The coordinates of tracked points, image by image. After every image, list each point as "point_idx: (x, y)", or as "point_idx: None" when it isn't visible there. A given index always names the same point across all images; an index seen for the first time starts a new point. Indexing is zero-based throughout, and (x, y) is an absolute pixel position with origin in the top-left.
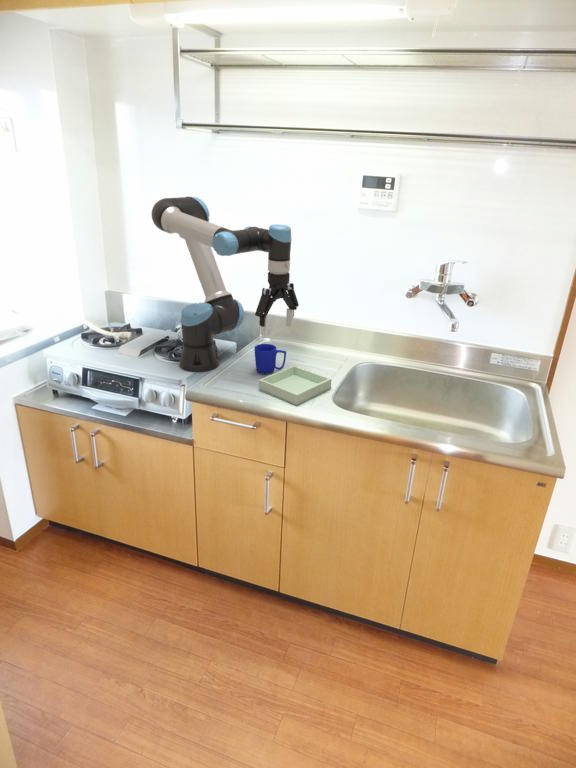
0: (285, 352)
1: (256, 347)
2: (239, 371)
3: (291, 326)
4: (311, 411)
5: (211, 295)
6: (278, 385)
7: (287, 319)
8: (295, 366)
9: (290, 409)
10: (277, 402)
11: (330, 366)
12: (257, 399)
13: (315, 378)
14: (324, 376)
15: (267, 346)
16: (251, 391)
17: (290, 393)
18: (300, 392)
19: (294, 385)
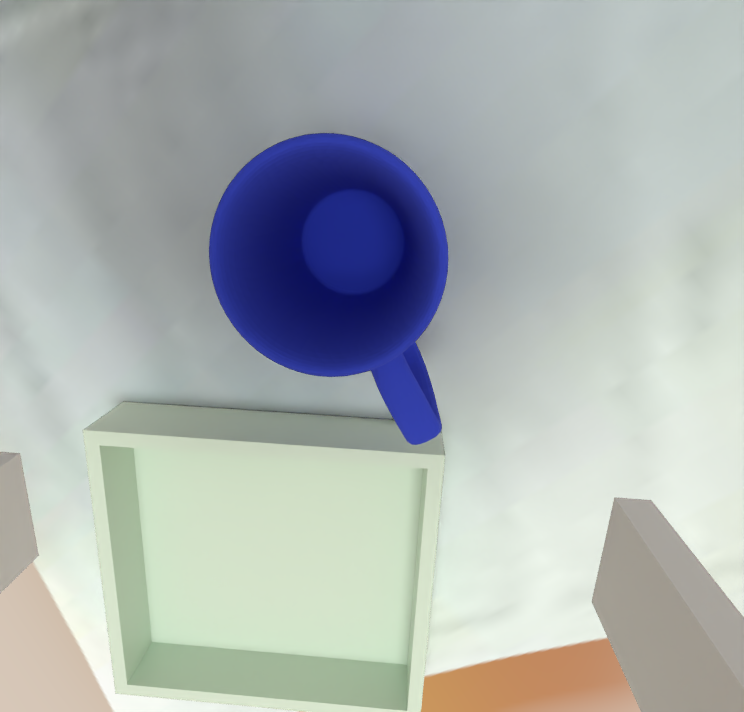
0: (414, 444)
1: (286, 161)
2: (225, 83)
3: (598, 611)
4: (160, 706)
5: None
6: (228, 467)
7: (663, 616)
8: (435, 474)
9: (101, 637)
10: None
11: (724, 513)
12: (43, 467)
13: (413, 611)
14: (422, 681)
15: (417, 213)
16: (79, 380)
17: (113, 651)
18: (152, 690)
19: (295, 532)
